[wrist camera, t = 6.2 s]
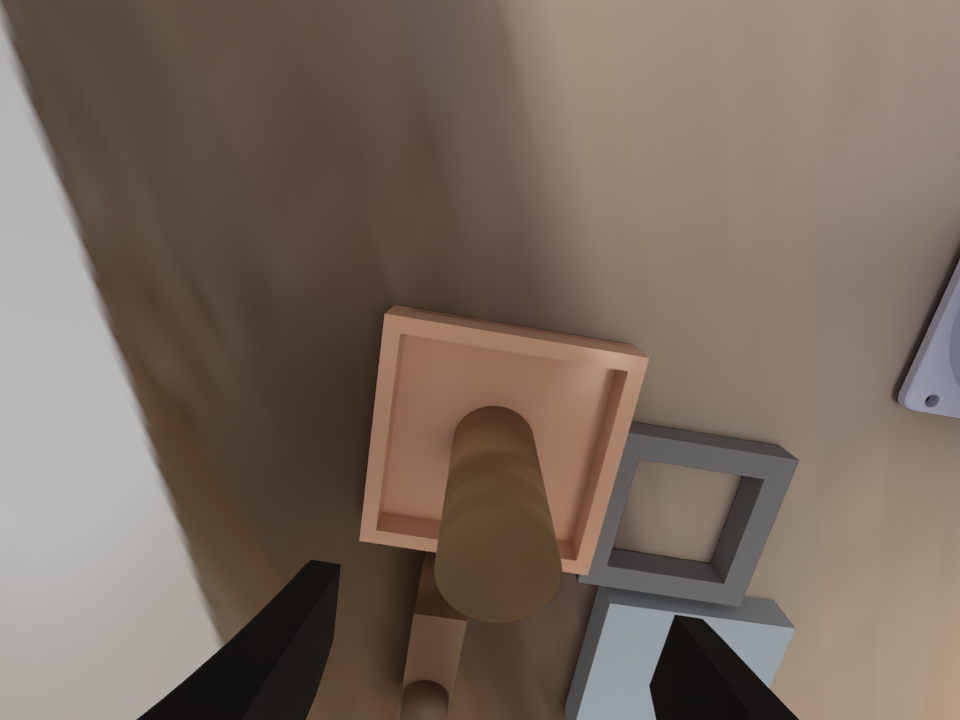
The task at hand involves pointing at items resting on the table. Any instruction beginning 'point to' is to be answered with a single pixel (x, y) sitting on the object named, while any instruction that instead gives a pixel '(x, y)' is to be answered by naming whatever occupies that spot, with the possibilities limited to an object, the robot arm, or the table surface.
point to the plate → (661, 647)
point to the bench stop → (431, 652)
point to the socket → (743, 530)
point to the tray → (507, 383)
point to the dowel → (496, 522)
